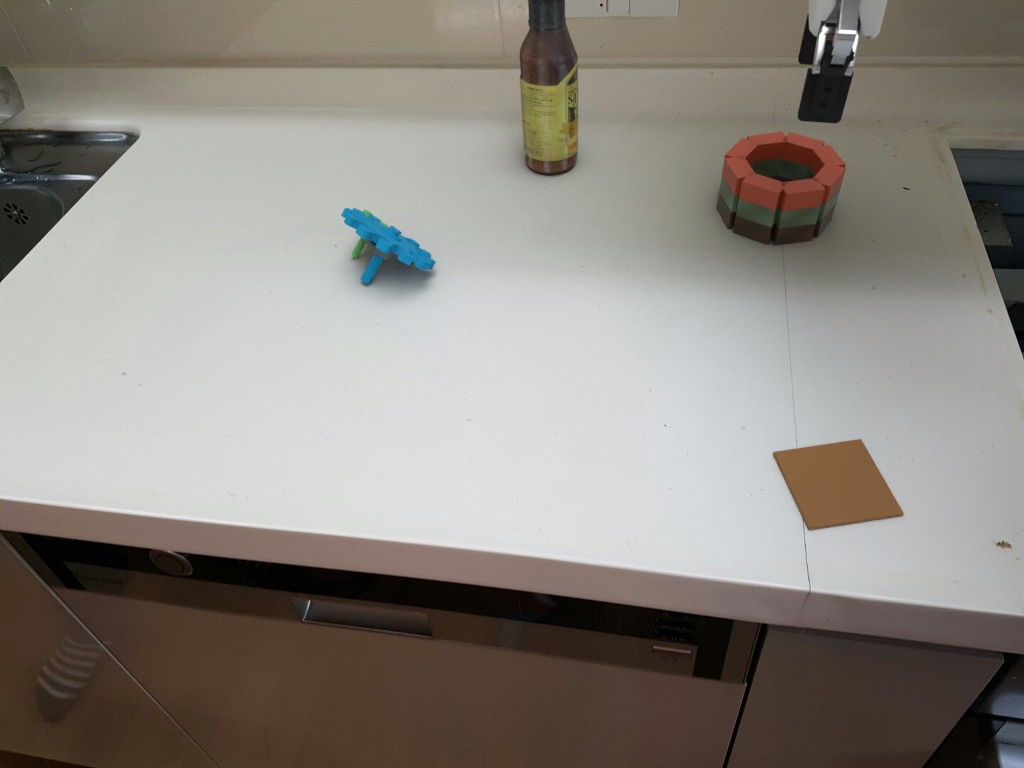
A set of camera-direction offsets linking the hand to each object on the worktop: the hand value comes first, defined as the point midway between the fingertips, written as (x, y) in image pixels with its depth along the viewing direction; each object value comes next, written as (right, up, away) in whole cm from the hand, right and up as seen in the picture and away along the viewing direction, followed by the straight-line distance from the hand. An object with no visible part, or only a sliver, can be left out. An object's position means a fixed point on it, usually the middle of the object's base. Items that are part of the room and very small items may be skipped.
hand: (817, 90), depth 64 cm
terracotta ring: (+2, -3, +15) cm, 15 cm away
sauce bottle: (-20, +2, +27) cm, 34 cm away
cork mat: (-1, -32, -6) cm, 32 cm away
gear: (-37, -12, +15) cm, 42 cm away
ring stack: (+2, -6, +18) cm, 19 cm away
